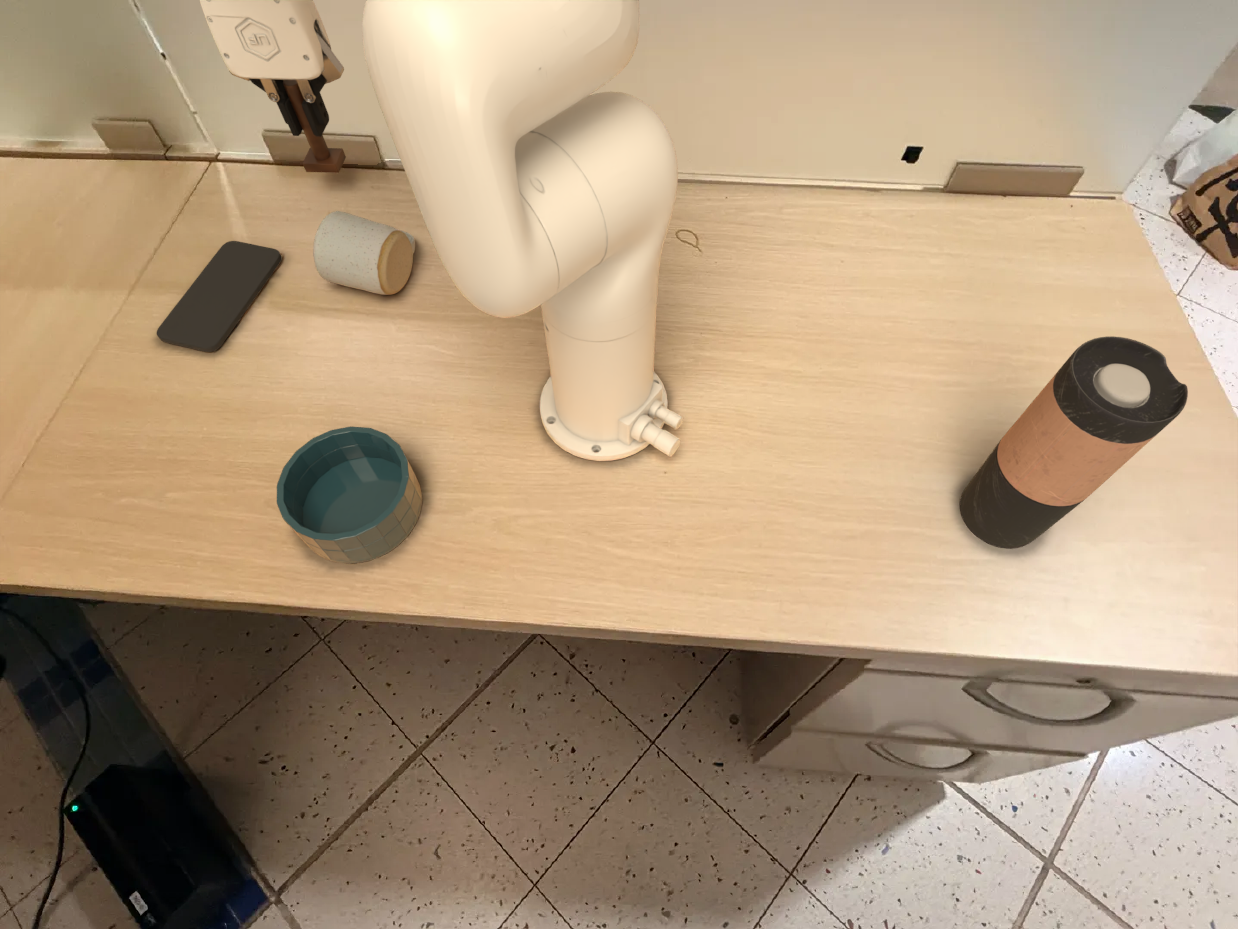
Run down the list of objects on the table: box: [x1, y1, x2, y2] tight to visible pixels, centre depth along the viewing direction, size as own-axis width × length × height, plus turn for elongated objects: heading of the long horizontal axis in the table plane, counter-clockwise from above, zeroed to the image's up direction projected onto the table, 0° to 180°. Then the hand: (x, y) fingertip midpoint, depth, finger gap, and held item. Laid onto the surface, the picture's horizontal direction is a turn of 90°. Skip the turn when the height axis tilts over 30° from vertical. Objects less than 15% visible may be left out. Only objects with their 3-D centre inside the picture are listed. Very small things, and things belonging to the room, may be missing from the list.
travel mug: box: [959, 335, 1189, 549], centre depth 58 cm, size 8×8×20 cm
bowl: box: [276, 426, 423, 564], centre depth 65 cm, size 11×11×5 cm
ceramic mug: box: [312, 210, 416, 296], centre depth 79 cm, size 11×8×8 cm
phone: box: [156, 240, 283, 353], centre depth 80 cm, size 7×1×15 cm
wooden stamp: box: [283, 80, 347, 174], centre depth 82 cm, size 4×3×10 cm
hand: (310, 127), depth 83 cm, fingers closed on wooden stamp
